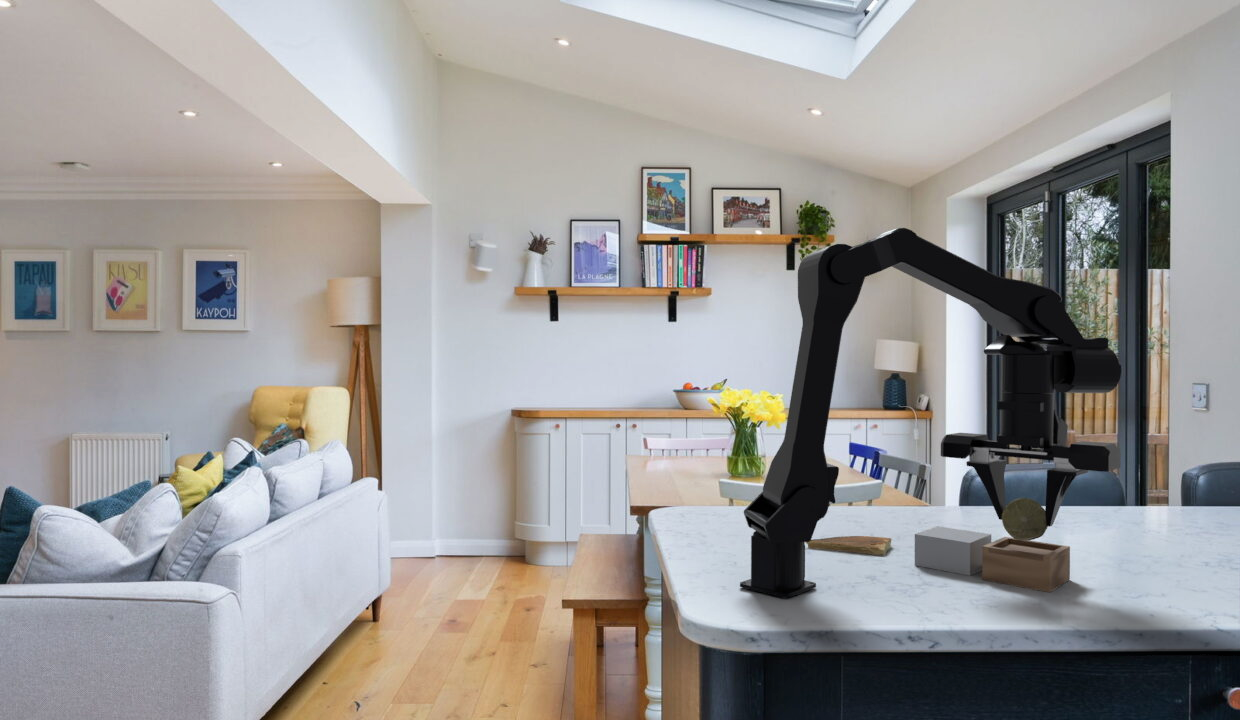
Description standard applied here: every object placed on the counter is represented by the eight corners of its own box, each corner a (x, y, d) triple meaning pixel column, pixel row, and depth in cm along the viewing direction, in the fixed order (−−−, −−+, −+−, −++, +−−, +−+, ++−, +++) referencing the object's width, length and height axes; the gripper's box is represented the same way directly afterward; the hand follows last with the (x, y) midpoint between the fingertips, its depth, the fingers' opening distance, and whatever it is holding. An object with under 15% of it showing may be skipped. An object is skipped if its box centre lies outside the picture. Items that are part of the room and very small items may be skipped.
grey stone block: (969, 575, 100) (970, 542, 99) (914, 565, 104) (914, 534, 104) (991, 565, 104) (991, 534, 104) (937, 555, 109) (937, 526, 109)
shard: (804, 550, 114) (804, 537, 114) (816, 540, 121) (817, 528, 121) (884, 560, 109) (884, 546, 109) (892, 548, 116) (893, 535, 116)
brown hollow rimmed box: (1049, 592, 92) (1049, 557, 92) (982, 579, 98) (982, 546, 98) (1069, 579, 98) (1069, 546, 98) (1004, 568, 103) (1004, 536, 103)
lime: (1053, 544, 96) (1055, 501, 96) (1012, 541, 96) (1014, 498, 96) (1034, 537, 100) (1036, 496, 100) (995, 535, 100) (996, 494, 100)
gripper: (1133, 394, 97) (1131, 525, 97) (973, 389, 110) (972, 504, 110) (1108, 396, 89) (1106, 539, 89) (939, 390, 102) (938, 514, 102)
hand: (1025, 522), depth 98 cm, fingers closed on lime, 5 cm apart
